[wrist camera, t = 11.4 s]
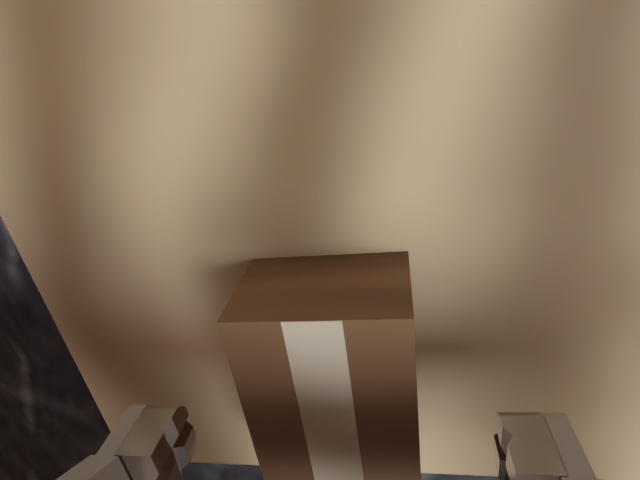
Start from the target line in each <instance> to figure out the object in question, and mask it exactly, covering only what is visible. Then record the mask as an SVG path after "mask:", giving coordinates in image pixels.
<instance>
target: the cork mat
mask: <svg viewBox="0 0 640 480" xmlns="http://www.w3.org/2000/svg"><path fill="white" fill-rule="evenodd" d="M0 216H1V218H2V220H3V222H4V224H5V226H6V228H7V230H8V232H9V234H10V236H11V238H12V239H13V241H14V243H15V245H16V247H17V249H18V251H19V253H20V255H21V257H22V259H23V261H24V263H25V265H26V267H27V269H28V271H29V273H30V275H31V277H32V279H33V281H34V283H35V285H36V286H37V288H38V290H39V292H40V294H41V296H42V298H43V300H44V302H45V304H46V306H47V308H48V310H49V312H50V314H51V316H52V318H53V320H54V322H55V324H56V326H57V328H58V330H59V332H60V334H61V335H62V337H63V339H64V341H65V343H66V345H67V347H68V349H69V351H70V353H71V355H72V357H73V359H74V361H75V363H76V365H77V367H78V369H79V371H80V373H81V375H82V377H83V379H84V381H85V383H86V384H87V386H88V388H89V390H90V392H91V394H92V396H93V398H94V400H95V402H96V404H97V406H98V408H99V410H100V412H101V414H102V416H103V418H104V420H105V422H106V424H107V426H108V428H109V430H110V432H111V431H112V430H113V428H114V427H115V425H116V424H117V422H118V421H119V419H120V418H121V416H122V415H123V414H124V412H125V411H126V409H127V408H128V407H129V406H131V405H132V404H155V405H175V406H185V407H186V409H187V412H188V414H189V416H188V418H187V420H186V421H187V422H189V423H190V424H191V425H192V426H193V427H194V430H195V432H196V445H195V451H194V454H193V457H192V459H191V461H190V462H197V463H219V464H241V465H259V462H258V459H257V456H256V452H255V449H254V446H253V442H252V439H251V436H250V432H249V429H248V426H247V422H246V419H245V416H244V412H243V409H242V406H241V402H240V399H239V396H238V392H237V389H236V386H235V382H234V379H233V376H232V372H231V369H230V366H229V362H228V359H227V356H226V352H225V349H224V346H223V342H222V339H221V336H220V332H219V329H218V326H217V321H218V319H219V318H220V316H221V314H222V312H223V311H224V309H225V307H226V305H227V303H228V302H229V300H230V298H231V296H232V295H233V293H234V291H235V289H236V287H237V286H238V284H239V282H240V280H241V279H242V277H243V275H244V273H245V271H246V270H247V268H248V266H249V264H250V263H251V261H252V259H258V258H278V257H299V256H320V255H340V254H361V253H382V252H402V251H408V254H409V266H410V277H411V289H412V300H413V312H414V327H415V350H416V374H417V397H418V420H419V443H420V467H421V473H436V474H457V475H479V476H498V474H497V469H496V464H495V459H494V447H493V443H494V435H495V434H496V433H497V430H496V426H495V415H496V412H540V413H565V414H566V415H567V416H568V418H569V420H570V422H571V424H572V426H573V429H574V431H575V433H576V435H577V437H578V439H579V442H580V444H581V446H582V448H583V450H584V453H585V455H586V457H587V459H588V461H589V463H590V466H591V468H592V470H593V472H594V474H595V477H596V479H604V480H640V0H0Z"/></svg>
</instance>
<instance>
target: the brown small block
mask: <svg viewBox="0 0 640 480" xmlns="http://www.w3.org/2000/svg"><path fill="white" fill-rule="evenodd" d="M217 326H218V329H219V332H220V336H221V339H222V342H223V346H224V349H225V352H226V356H227V359H228V362H229V366H230V369H231V372H232V376H233V379H234V382H235V386H236V389H237V392H238V396H239V399H240V402H241V406H242V409H243V412H244V416H245V419H246V422H247V426H248V429H249V432H250V436H251V439H252V442H253V446H254V449H255V452H256V456H257V459H258V462H259V466H260V469H261V472H262V476H263V479H264V480H421V467H420V443H419V420H418V397H417V374H416V350H415V327H414V312H413V300H412V289H411V277H410V266H409V254H408V251H402V252H382V253H361V254H340V255H320V256H299V257H278V258H258V259H252V261H251V263H250V264H249V266H248V268H247V270H246V271H245V273H244V275H243V277H242V279H241V280H240V282H239V284H238V286H237V287H236V289H235V291H234V293H233V295H232V296H231V298H230V300H229V302H228V303H227V305H226V307H225V309H224V311H223V312H222V314H221V316H220V318H219V319H218V321H217Z"/></svg>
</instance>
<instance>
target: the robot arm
mask: <svg viewBox="0 0 640 480" xmlns="http://www.w3.org/2000/svg"><path fill="white" fill-rule="evenodd" d="M188 416H189V414H188V412H187V409H186V407H185V406H175V405H155V404H132V405H131V406H129V407H128V408H127V409H126V411H125V412H124V414H123V415H122V416H121V418H120V419H119V421H118V422H117V424H116V425H115V427H114V428H113V430H112V431H111V433H110V434H109V436H108V437H107V439H106V440H105V442H104V443H103V445H102V446H101V447H100V449H99V450H98V452H97V453H96V455H90V456H88V457H87V458H85V459H84V460H83V461H81V462H80V463H78V464H77V465H76V466H74V467H73V468H71V469H70V470H68V471H67V472H66V473H64V474H63V475H61V476H60V477H59V478H57V479H56V480H182V479H183V476H182V472H181V470H182V469H183V468H184V467H185V466H186V465H188V464H189V463H190V461H191V459H192V457H193V454H194V451H195V445H196V432H195V430H194V427H193V426H192V425H191V424H190V423H189V422H187V421H186V420H187V418H188ZM495 426H496V430H497V433H496V434H495V435H494V443H493V447H494V459H495V464H496V469H497V474H498V478H499V479H500V480H604V479H596V477H595V474H594V472H593V470H592V468H591V466H590V463H589V461H588V459H587V457H586V455H585V453H584V450H583V448H582V446H581V444H580V442H579V439H578V437H577V435H576V433H575V431H574V429H573V426H572V424H571V422H570V420H569V418H568V416H567V415H566V414H565V413H540V412H496V415H495Z"/></svg>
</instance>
